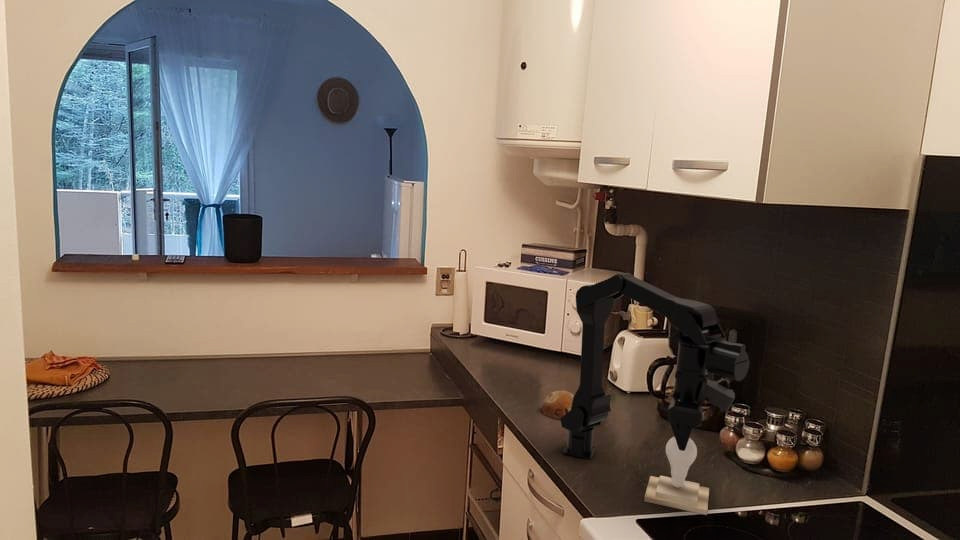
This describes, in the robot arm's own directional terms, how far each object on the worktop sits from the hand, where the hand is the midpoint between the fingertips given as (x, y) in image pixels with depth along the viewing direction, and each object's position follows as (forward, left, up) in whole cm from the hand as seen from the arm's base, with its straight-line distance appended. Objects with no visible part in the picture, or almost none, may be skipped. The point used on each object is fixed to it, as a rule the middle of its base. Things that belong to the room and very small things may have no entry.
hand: (683, 441), depth 136 cm
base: (0, 0, -12) cm, 12 cm away
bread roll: (-34, -33, -12) cm, 48 cm away
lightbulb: (0, 0, -10) cm, 10 cm away
